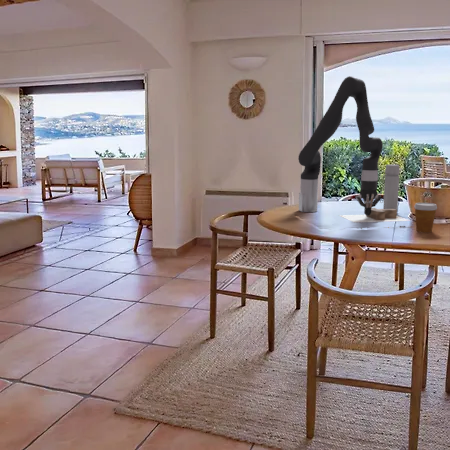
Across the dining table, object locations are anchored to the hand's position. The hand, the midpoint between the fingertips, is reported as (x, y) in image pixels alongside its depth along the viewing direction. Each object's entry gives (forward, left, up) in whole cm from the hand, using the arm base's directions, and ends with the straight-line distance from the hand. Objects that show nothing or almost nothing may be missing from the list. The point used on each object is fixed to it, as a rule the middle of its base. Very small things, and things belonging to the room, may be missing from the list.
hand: (367, 215), depth 265 cm
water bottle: (+21, +21, -3) cm, 30 cm away
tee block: (+8, 0, -1) cm, 8 cm away
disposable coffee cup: (+13, -29, -3) cm, 32 cm away
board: (+3, 0, -3) cm, 4 cm away
